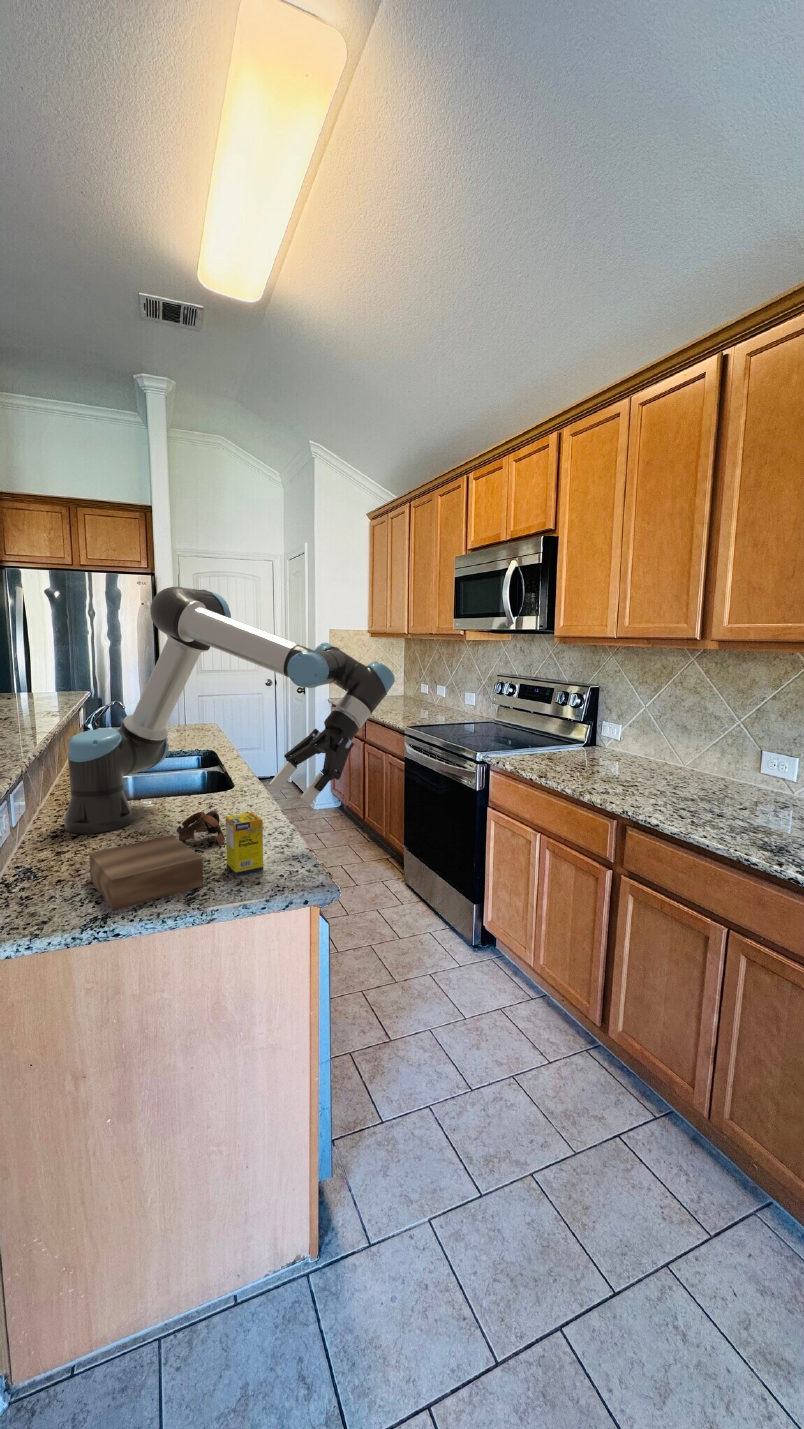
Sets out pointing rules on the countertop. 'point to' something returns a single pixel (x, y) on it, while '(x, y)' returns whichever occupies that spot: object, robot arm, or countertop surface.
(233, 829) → the supplement box
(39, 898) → the countertop surface
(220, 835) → the broken clay pot
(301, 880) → the countertop surface
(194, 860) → the walnut block
